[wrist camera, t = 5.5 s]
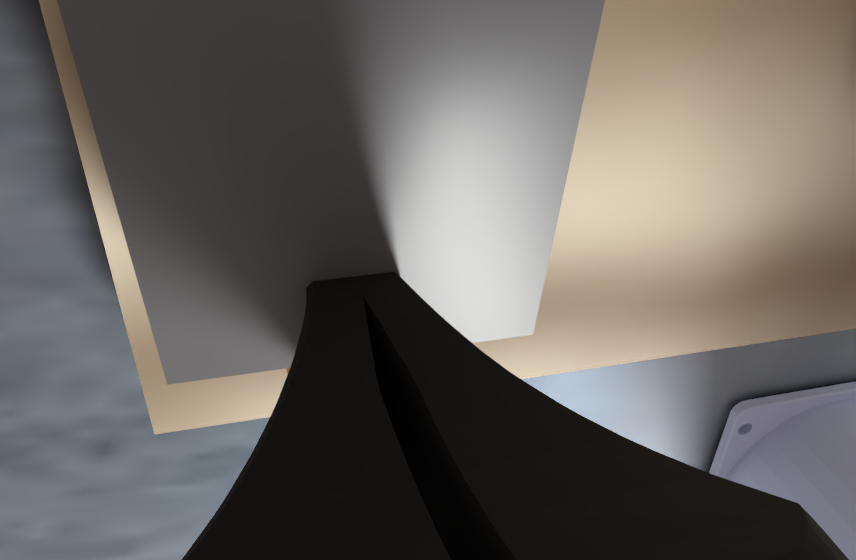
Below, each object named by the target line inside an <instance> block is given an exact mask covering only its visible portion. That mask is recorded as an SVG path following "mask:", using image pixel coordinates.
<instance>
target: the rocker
mask: <svg viewBox="0 0 856 560" xmlns="http://www.w3.org/2000/svg"><path fill="white" fill-rule="evenodd" d="M57 3H58V6H59V10H60V13H61V17H62V20H63V24H64V27H65V31H66V34H67V38H68V41H69V45H70V48H71V52H72V55H73V59H74V62H75V66H76V69H77V73H78V76H79V79H80V83H81V86H82V90H83V93H84V97H85V100H86V104H87V107H88V111H89V114H90V118H91V121H92V125H93V128H94V132H95V135H96V139H97V142H98V146H99V149H100V152H101V156H102V159H103V163H104V166H105V170H106V173H107V177H108V180H109V184H110V187H111V191H112V194H113V198H114V201H115V205H116V208H117V212H118V215H119V219H120V222H121V225H122V229H123V232H124V236H125V239H126V243H127V246H128V250H129V253H130V257H131V260H132V264H133V267H134V271H135V274H136V278H137V281H138V285H139V288H140V292H141V295H142V298H143V302H144V305H145V309H146V312H147V316H148V319H149V323H150V326H151V330H152V333H153V337H154V340H155V344H156V347H157V351H158V354H159V358H160V361H161V365H162V368H163V371H164V375H165V378H166V382H167V385H169V384H176V383H184V382H191V381H198V380H206V379H213V378H220V377H227V376H235V375H242V374H249V373H257V372H264V371H271V370H279V369H286V368H290V367H291V364H292V361H293V358H294V355H295V351H296V348H297V344H298V341H299V337H300V334H301V330H302V325H303V320H304V315H305V309H306V288H307V287H308V286H309V285H310V284H311V283H312V282H313V281H320V280H329V279H337V278H346V277H354V276H363V275H371V274H379V273H387V272H395V273H396V274H398V275H399V276H400V277H401V278H402V279H403V280H404V281H405V282H406V283H407V284H408V285H409V286H410V287H411V288H412V289H413V290H414V291H415V292H416V293H417V294H418V295H419V296H420V297H421V298H422V299H423V300H424V301H425V302H427V303H428V304H429V305H430V306H431V307H432V308H433V309H434V310H435V311H436V312H437V313H438V314H439V315H440V316H441V317H443V318H444V319H445V320H446V321H447V322H448V323H449V324H450V325H452V326H453V327H454V328H455V329H456V330H457V331H459V332H460V333H461V334H462V335H463V336H464V337H466V338H467V339H468V340H469V341H470V342H471V343H476V342H483V341H490V340H498V339H505V338H512V337H520V336H527V335H533V332H534V328H535V323H536V318H537V314H538V309H539V305H540V300H541V295H542V291H543V286H544V281H545V277H546V272H547V267H548V263H549V258H550V253H551V249H552V244H553V240H554V235H555V230H556V226H557V221H558V216H559V212H560V207H561V202H562V198H563V193H564V189H565V184H566V179H567V175H568V170H569V165H570V161H571V156H572V151H573V147H574V142H575V137H576V133H577V128H578V124H579V119H580V114H581V110H582V105H583V100H584V96H585V91H586V86H587V82H588V77H589V72H590V68H591V63H592V59H593V54H594V49H595V45H596V40H597V35H598V31H599V26H600V21H601V17H602V12H603V8H604V3H605V0H57Z"/></svg>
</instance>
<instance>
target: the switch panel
mask: <svg viewBox="0 0 856 560" xmlns="http://www.w3.org/2000/svg"><path fill="white" fill-rule="evenodd" d="M39 4H40V7H41V11H42V15H43V19H44V22H45V26H46V30H47V34H48V37H49V41H50V45H51V49H52V52H53V56H54V60H55V64H56V67H57V71H58V75H59V79H60V82H61V86H62V90H63V94H64V97H65V101H66V105H67V108H68V112H69V116H70V120H71V123H72V127H73V131H74V135H75V138H76V142H77V146H78V150H79V153H80V157H81V161H82V165H83V168H84V172H85V176H86V180H87V183H88V187H89V191H90V195H91V198H92V202H93V206H94V210H95V213H96V217H97V221H98V225H99V228H100V232H101V236H102V240H103V243H104V247H105V251H106V255H107V258H108V262H109V266H110V269H111V273H112V277H113V281H114V284H115V288H116V292H117V296H118V299H119V303H120V307H121V311H122V314H123V318H124V322H125V326H126V329H127V333H128V337H129V341H130V344H131V348H132V352H133V356H134V359H135V363H136V367H137V371H138V374H139V378H140V382H141V386H142V389H143V393H144V397H145V401H146V404H147V408H148V412H149V416H150V419H151V423H152V427H153V430H154V434H161V433H167V432H174V431H181V430H187V429H194V428H201V427H207V426H214V425H220V424H227V423H234V422H240V421H247V420H254V419H260V418H267V417H271V414H272V412H273V410H274V408H275V406H276V403H277V401H278V398H279V396H280V393H281V391H282V388H283V385H284V383H285V380H286V378H287V375H288V372H289V370H290V368H286V369H279V370H271V371H264V372H257V373H249V374H242V375H235V376H227V377H220V378H213V379H206V380H198V381H191V382H184V383H176V384H169V385H167V382H166V378H165V375H164V371H163V368H162V365H161V361H160V358H159V354H158V351H157V347H156V344H155V340H154V337H153V333H152V330H151V326H150V323H149V319H148V316H147V312H146V309H145V305H144V302H143V298H142V295H141V292H140V288H139V285H138V281H137V278H136V274H135V271H134V267H133V264H132V260H131V257H130V253H129V250H128V246H127V243H126V239H125V236H124V232H123V229H122V225H121V222H120V219H119V215H118V212H117V208H116V205H115V201H114V198H113V194H112V191H111V187H110V184H109V180H108V177H107V173H106V170H105V166H104V163H103V159H102V156H101V152H100V149H99V146H98V142H97V139H96V135H95V132H94V128H93V125H92V121H91V118H90V114H89V111H88V107H87V104H86V100H85V97H84V93H83V90H82V86H81V83H80V79H79V76H78V73H77V69H76V66H75V62H74V59H73V55H72V52H71V48H70V45H69V41H68V38H67V34H66V31H65V27H64V24H63V20H62V17H61V13H60V10H59V6H58V3H57V0H39ZM851 329H856V0H605V3H604V8H603V12H602V17H601V21H600V26H599V31H598V35H597V40H596V45H595V49H594V54H593V59H592V63H591V68H590V72H589V77H588V82H587V86H586V91H585V96H584V100H583V105H582V110H581V114H580V119H579V124H578V128H577V133H576V137H575V142H574V147H573V151H572V156H571V161H570V165H569V170H568V175H567V179H566V184H565V189H564V193H563V198H562V202H561V207H560V212H559V216H558V221H557V226H556V230H555V235H554V240H553V244H552V249H551V253H550V258H549V263H548V267H547V272H546V277H545V281H544V286H543V291H542V295H541V300H540V305H539V309H538V314H537V318H536V323H535V328H534V332H533V335H527V336H520V337H512V338H505V339H498V340H490V341H483V342H476V343H473V344H474V345H475V346H476V347H478V348H479V349H480V350H481V351H483V352H484V353H485V354H486V355H488V356H489V357H490V358H492V359H493V360H494V361H496V362H497V363H498V364H500V365H501V366H502V367H504V368H505V369H506V370H508V371H509V372H511V373H512V374H514V375H515V376H517V377H518V378H520V379H526V378H532V377H539V376H546V375H552V374H559V373H566V372H572V371H579V370H585V369H592V368H599V367H605V366H612V365H619V364H625V363H632V362H639V361H645V360H652V359H658V358H665V357H672V356H678V355H685V354H692V353H698V352H705V351H712V350H718V349H725V348H731V347H738V346H745V345H751V344H758V343H765V342H771V341H778V340H785V339H791V338H798V337H804V336H811V335H818V334H824V333H831V332H838V331H844V330H851Z"/></svg>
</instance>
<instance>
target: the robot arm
mask: <svg viewBox="0 0 856 560" xmlns="http://www.w3.org/2000/svg"><path fill="white" fill-rule="evenodd" d="M182 560H856V381H855V382H850V383H844V384H838V385H832V386H826V387H820V388H814V389H808V390H802V391H796V392H791V393H785V394H779V395H773V396H767V397H761V398H755V399H749V400H744V401H741V402H739V403H738V404H736V405H735V406H734V407H733V408H732V410H731V411H730V414H729V417H728V420H727V423H726V425H725V428H724V431H723V434H722V437H721V440H720V443H719V445H718V448H717V451H716V454H715V457H714V460H713V463H712V466H711V468H710V471H709V473H707V472H705V471H702V470H699V469H697V468H694V467H692V466H689V465H687V464H685V463H682V462H680V461H677V460H675V459H672V458H670V457H667V456H665V455H663V454H660V453H658V452H655V451H653V450H651V449H649V448H646V447H644V446H642V445H640V444H637V443H635V442H633V441H631V440H629V439H626V438H624V437H622V436H620V435H618V434H616V433H614V432H612V431H610V430H608V429H606V428H604V427H602V426H600V425H598V424H596V423H595V422H593V421H591V420H589V419H587V418H585V417H583V416H581V415H579V414H577V413H575V412H574V411H572V410H570V409H568V408H566V407H565V406H563V405H561V404H559V403H558V402H556V401H555V400H553V399H551V398H550V397H548V396H547V395H545V394H543V393H542V392H540V391H538V390H537V389H535V388H534V387H532V386H530V385H529V384H527V383H526V382H524V381H523V380H521V379H520V378H518V377H517V376H515V375H514V374H512V373H511V372H509V371H508V370H506V369H505V368H504V367H502V366H501V365H500V364H498V363H497V362H496V361H494V360H493V359H492V358H490V357H489V356H488V355H486V354H485V353H484V352H483V351H481V350H480V349H479V348H478V347H476V346H475V345H474V344H473V343H471V342H470V341H469V340H468V339H467V338H466V337H464V336H463V335H462V334H461V333H460V332H459V331H457V330H456V329H455V328H454V327H453V326H452V325H450V324H449V323H448V322H447V321H446V320H445V319H444V318H443V317H441V316H440V315H439V314H438V313H437V312H436V311H435V310H434V309H433V308H432V307H431V306H430V305H429V304H428V303H427V302H425V301H424V300H423V299H422V298H421V297H420V296H419V295H418V294H417V293H416V292H415V291H414V290H413V289H412V288H411V287H410V286H409V285H408V284H407V283H406V282H405V281H404V280H403V279H402V278H401V277H400V276H399V275H398V274H396V273H395V272H387V273H379V274H371V275H363V276H354V277H346V278H337V279H329V280H320V281H313V282H312V283H311V284H310V285H309V286H308V287H307V288H306V309H305V315H304V320H303V325H302V330H301V334H300V337H299V341H298V344H297V348H296V351H295V355H294V358H293V361H292V364H291V367H290V370H289V372H288V375H287V378H286V380H285V383H284V385H283V388H282V391H281V393H280V396H279V398H278V401H277V403H276V406H275V408H274V410H273V412H272V414H271V417H270V419H269V421H268V423H267V425H266V427H265V429H264V431H263V433H262V435H261V437H260V439H259V441H258V443H257V445H256V447H255V449H254V451H253V453H252V454H251V456H250V458H249V460H248V461H247V463H246V465H245V466H244V468H243V470H242V472H241V473H240V475H239V477H238V478H237V480H236V482H235V483H234V485H233V487H232V489H231V490H230V492H229V493H228V495H227V496H226V498H225V500H224V501H223V503H222V504H221V506H220V507H219V509H218V510H217V512H216V513H215V515H214V516H213V518H212V519H211V520H210V522H209V523H208V524H207V526H206V527H205V529H204V530H203V531H202V533H201V534H200V536H199V537H198V538H197V540H196V541H195V542H194V544H193V545H192V547H191V548H190V549H189V551H188V552H187V553H186V555H185V556H184V558H183V559H182Z"/></svg>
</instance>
